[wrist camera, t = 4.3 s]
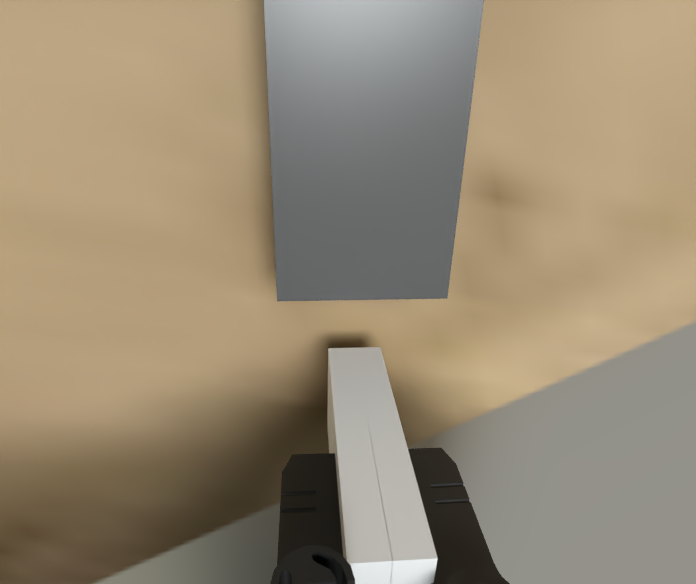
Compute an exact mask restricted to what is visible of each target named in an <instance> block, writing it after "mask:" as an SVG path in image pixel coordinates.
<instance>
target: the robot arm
mask: <svg viewBox="0 0 696 584" xmlns="http://www.w3.org/2000/svg"><path fill="white" fill-rule="evenodd" d="M327 427H328V442H329V453H328V454H302V455H292V456H291V458H290V460H289V461H288V463H287V465H286V467H285V468H284V470H283V472H282V486H281V505H280V525H279V543H278V563H277V567H276V568H275V570H274V573H273V577H272V580H271V584H509V583H508V582H507V581H506V580H505V579H504V578H502V576H501V575H500V574H499V572H498V570H497V568H496V566H495V564H494V562H493V560H492V557H491V554H490V552H489V549H488V546H487V544H486V541H485V539H484V536H483V533H482V531H481V529H480V526H479V523H478V520H477V518H476V515H475V513H474V510H473V507H472V505H471V503H470V502H469V497H468V494H467V492H466V489H465V487H464V486H463V481H462V479H461V476H460V473H459V471H458V468H457V465H456V463H454V461H453V460H452V459H451V458H450V457H449V456H448V455H447V454H446V453H445V451H444V450H443V449H442V448H422V449H408V448H407V444H406V440H405V437H404V433H403V429H402V426H401V422H400V418H399V415H398V411H397V407H396V404H395V400H394V396H393V393H392V389H391V385H390V381H389V378H388V374H387V370H386V367H385V363H384V359H383V356H382V352H381V348H380V347H364V348H328V408H327Z"/></svg>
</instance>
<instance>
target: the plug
mask: <svg viewBox="0 0 696 584" xmlns="http://www.w3.org/2000/svg"><path fill="white" fill-rule="evenodd" d="M483 4H484V0H264V17H265V39H266V62H267V84H268V106H269V129H270V151H271V173H272V196H273V218H274V240H275V262H276V285H277V301H319V300H379V299H440V298H447V296H448V288H449V280H450V271H451V263H452V255H453V247H454V239H455V231H456V223H457V215H458V207H459V199H460V190H461V182H462V174H463V166H464V158H465V150H466V142H467V134H468V126H469V118H470V109H471V101H472V93H473V85H474V77H475V69H476V61H477V53H478V45H479V37H480V28H481V20H482V12H483Z"/></svg>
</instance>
